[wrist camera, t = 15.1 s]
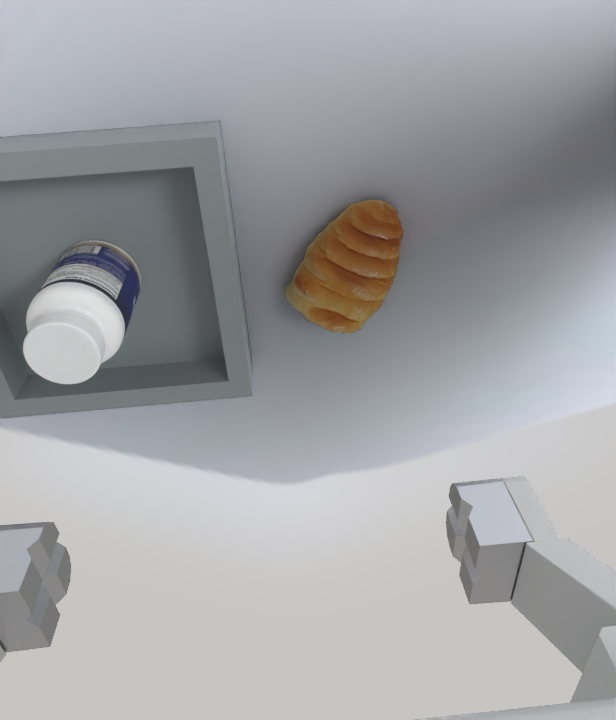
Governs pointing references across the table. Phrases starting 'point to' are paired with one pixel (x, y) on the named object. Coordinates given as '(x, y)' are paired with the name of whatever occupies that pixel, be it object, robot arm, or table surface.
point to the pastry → (348, 267)
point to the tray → (145, 246)
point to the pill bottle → (81, 312)
